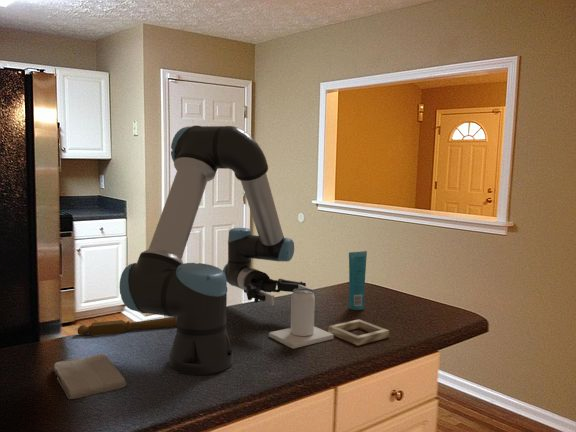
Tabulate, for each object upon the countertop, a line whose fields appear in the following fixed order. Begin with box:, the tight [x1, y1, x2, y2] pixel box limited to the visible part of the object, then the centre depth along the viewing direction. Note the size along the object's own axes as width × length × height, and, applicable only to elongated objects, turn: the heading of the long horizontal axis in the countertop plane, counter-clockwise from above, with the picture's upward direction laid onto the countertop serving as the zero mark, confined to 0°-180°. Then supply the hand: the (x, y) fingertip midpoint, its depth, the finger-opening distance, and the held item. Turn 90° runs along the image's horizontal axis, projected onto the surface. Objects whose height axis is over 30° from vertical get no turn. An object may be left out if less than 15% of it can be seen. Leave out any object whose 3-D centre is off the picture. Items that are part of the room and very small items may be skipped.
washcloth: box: [53, 353, 127, 400], centre depth 114 cm, size 12×18×3 cm, turn 36°
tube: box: [348, 250, 368, 311], centre depth 172 cm, size 7×5×19 cm, turn 127°
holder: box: [327, 319, 390, 347], centre depth 147 cm, size 12×12×2 cm
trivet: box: [268, 325, 335, 349], centre depth 144 cm, size 14×11×1 cm
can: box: [290, 288, 316, 337], centre depth 143 cm, size 6×6×12 cm
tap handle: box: [77, 316, 177, 337], centre depth 147 cm, size 3×3×30 cm
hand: (293, 297), depth 147 cm, fingers open, 13 cm apart
